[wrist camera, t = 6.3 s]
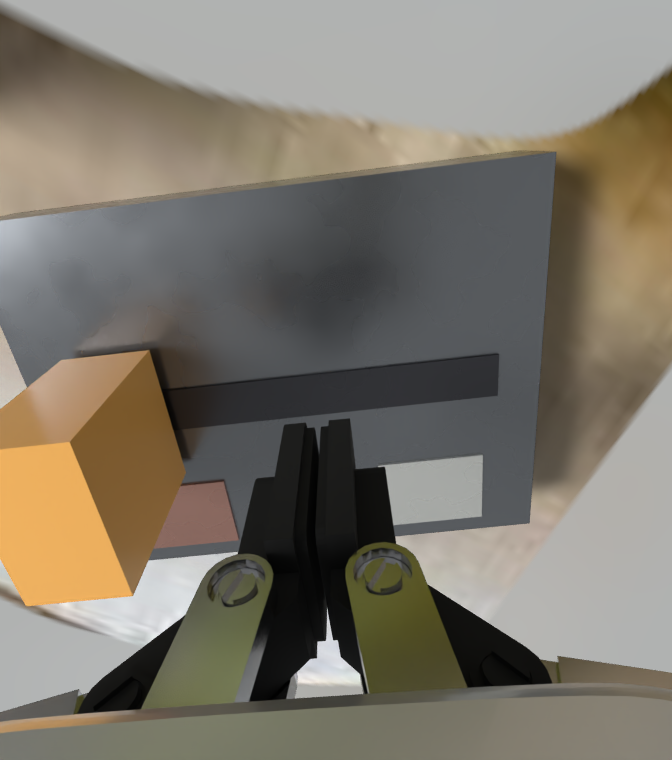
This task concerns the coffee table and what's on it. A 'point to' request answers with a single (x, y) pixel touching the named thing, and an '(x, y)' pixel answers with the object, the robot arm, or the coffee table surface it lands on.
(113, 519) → the block
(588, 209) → the coffee table surface
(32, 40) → the coffee table surface
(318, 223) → the panel
